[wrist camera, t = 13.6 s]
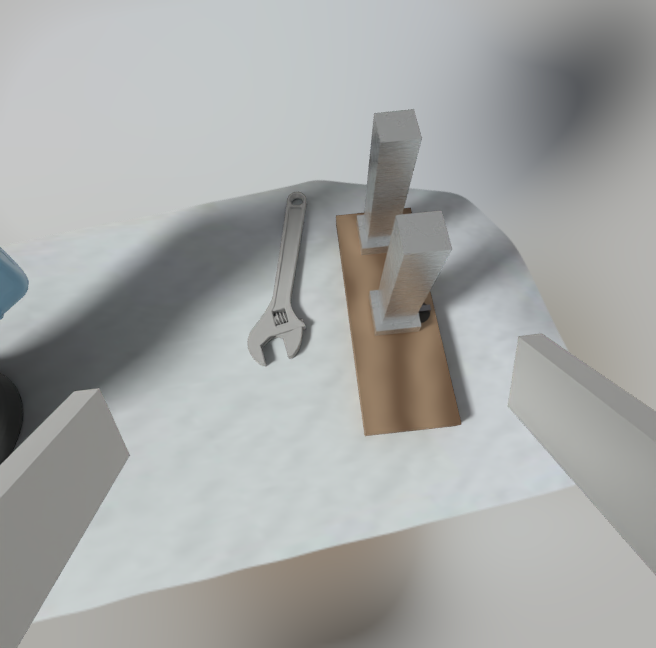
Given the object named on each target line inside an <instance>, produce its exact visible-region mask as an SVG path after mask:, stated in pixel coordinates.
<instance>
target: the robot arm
mask: <svg viewBox="0 0 656 648" xmlns="http://www.w3.org/2000/svg"><path fill="white" fill-rule="evenodd" d="M28 283H29V282H28V278H27V276H26V274H25V273H24V271H23V270H22V269H21V268H20V267H19V266H18V264H17V263H16V262H15V261H14V260H13V259H12V258H11V257H10V256H9V255H8V254H7V253H6V252H5V251H4V250H3V249H2V248H1V247H0V320H1V319H2V318H3V316H4V313H5V312H7V311H8V310H9V309H10V308H11V307H12V306H13V305H14V304H16V303H17V302H18V301H19V300H20V299H21V298H22V297H23V296H24V295H25V293H26V292H27V290H28ZM508 407H509V408H510V410H511V411H512V412H513V413H514V414H515V415H516V416H517V418H518V419H519V420H520V421H521V422H522V423H523V424H524V426H525V427H526V428H527V429H528V430H529V431H530V432H531V434H532V435H533V436H534V437H535V438H536V439H537V440H538V442H539V443H540V444H541V445H542V446H543V447H544V448H545V450H546V451H547V452H548V453H549V454H550V455H551V456H552V458H553V459H554V460H555V461H556V462H557V463H558V464H559V466H560V467H561V468H562V469H563V470H564V471H565V472H566V474H567V475H568V476H569V477H570V478H571V479H572V480H573V481H574V483H575V484H576V485H577V486H578V487H579V488H580V489H581V491H582V492H583V493H584V494H585V495H586V496H587V497H588V499H590V501H591V502H592V503H593V504H594V505H595V506H596V508H597V509H598V510H599V511H600V512H601V513H602V515H603V516H604V517H605V518H606V519H607V520H608V521H609V523H610V524H611V525H612V526H613V527H614V528H615V529H616V530H617V532H618V533H619V534H620V535H621V536H622V537H623V539H624V540H625V541H626V542H627V543H628V544H629V545H630V546H631V548H632V549H633V550H634V551H635V552H636V553H637V555H638V556H639V557H640V558H641V559H642V560H643V561H644V562H645V564H646V565H647V566H648V567H649V568H650V569H651V571H652V572H653V573H654V574H655V575H656V411H654V410H653V409H651V408H650V407H648V406H647V405H646V404H644V403H643V402H641V401H640V400H638V399H637V398H635V397H634V396H632V395H631V394H629V393H628V392H626V391H625V390H623V389H622V388H621V387H619V386H618V385H616V384H615V383H613V382H612V381H610V380H609V379H607V378H606V377H605V376H603V375H602V374H600V373H599V372H597V371H596V370H594V369H593V368H591V367H590V366H588V365H587V364H586V363H584V362H583V361H581V360H579V359H578V358H577V357H575V356H574V355H572V354H571V353H569V352H568V351H567V350H565V349H564V348H562V347H561V346H559V345H558V344H556V343H555V342H553V341H552V340H550V339H549V338H547V337H546V336H545V335H543V334H534V335H526V336H518V342H517V348H516V355H515V361H514V368H513V374H512V381H511V387H510V394H509V400H508ZM21 423H22V403H21V398H20V395H19V393H18V390H17V389H16V387H15V386H14V384H13V383H12V382H11V381H10V380H9V379H8V378H7V377H5V376H4V375H2V374H0V648H17V647H18V645H19V644H20V642H21V640H22V639H23V637H24V635H25V633H26V632H27V630H28V628H29V627H30V625H31V623H32V621H33V620H34V618H35V616H36V615H37V613H38V611H39V610H40V608H41V606H42V604H43V603H44V601H45V599H46V598H47V596H48V594H49V592H50V591H51V589H52V587H53V586H54V584H55V582H56V580H57V579H58V577H59V575H60V574H61V572H62V570H63V569H64V567H65V565H66V563H67V562H68V560H69V558H70V557H71V555H72V553H73V551H74V550H75V548H76V546H77V545H78V543H79V541H80V540H81V538H82V536H83V534H84V533H85V531H86V529H87V528H88V526H89V524H90V522H91V521H92V519H93V517H94V516H95V514H96V512H97V510H98V509H99V507H100V505H101V504H102V502H103V500H104V499H105V497H106V495H107V493H108V492H109V490H110V488H111V487H112V485H113V483H114V481H115V480H116V478H117V476H118V475H119V473H120V471H121V469H122V468H123V466H124V464H125V463H126V461H127V459H128V458H129V456H130V454H129V452H128V450H127V448H126V446H125V443H124V441H123V439H122V437H121V435H120V432H119V430H118V428H117V426H116V424H115V421H114V419H113V417H112V415H111V412H110V410H109V408H108V406H107V404H106V401H105V399H104V397H103V395H102V393H101V390H100V388H97V389H89V390H81V391H74V392H73V393H72V394H71V395H70V396H69V397H68V398H67V399H66V400H65V401H64V402H63V403H62V404H61V405H60V406H59V407H58V408H57V409H56V410H55V411H54V412H53V413H52V414H51V415H50V416H49V417H48V418H47V419H46V420H45V421H44V422H43V423H42V424H41V425H40V426H39V427H38V428H37V429H36V430H35V431H34V432H33V433H32V434H31V435H30V436H29V437H28V438H27V439H26V440H25V441H24V442H23V443H22V444H21V445H20V446H19V447H18V448H17V449H16V450H15V451H14V452H13V453H12V454H11V455H10V453H11V452H12V450H13V448H14V446H15V443H16V441H17V438H18V435H19V432H20V428H21ZM9 455H10V456H9Z"/></svg>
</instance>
